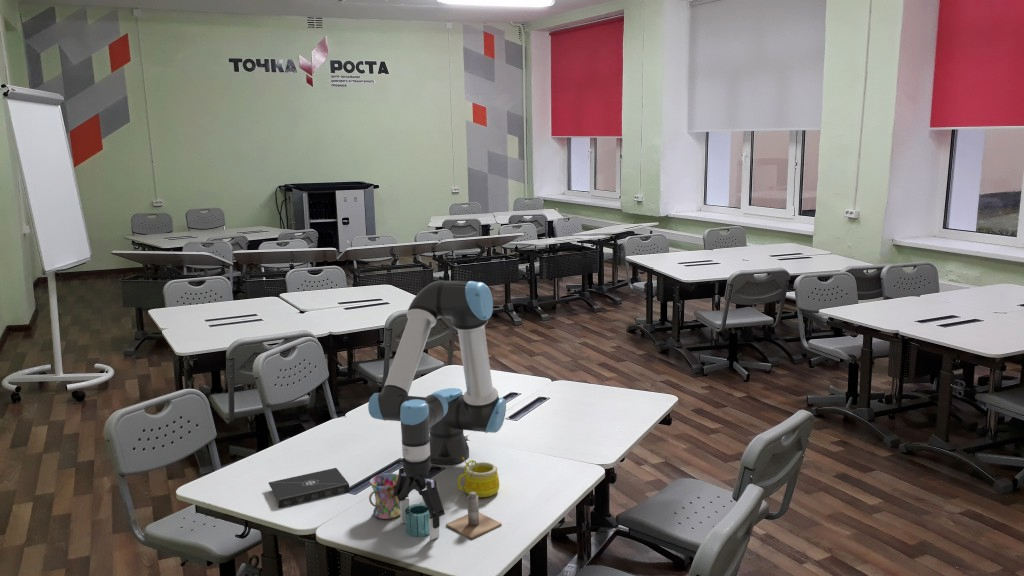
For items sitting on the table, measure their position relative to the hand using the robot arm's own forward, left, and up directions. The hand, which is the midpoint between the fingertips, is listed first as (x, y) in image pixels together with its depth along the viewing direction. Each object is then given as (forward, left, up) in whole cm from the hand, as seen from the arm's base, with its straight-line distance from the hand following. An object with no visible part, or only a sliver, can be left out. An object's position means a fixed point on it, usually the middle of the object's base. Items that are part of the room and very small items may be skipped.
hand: (419, 529), depth 212 cm
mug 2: (-6, +27, 0) cm, 28 cm away
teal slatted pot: (0, 0, 0) cm, 0 cm away
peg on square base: (+9, +12, 0) cm, 15 cm away
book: (-46, -9, -1) cm, 46 cm away
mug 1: (-14, -2, 0) cm, 14 cm away
